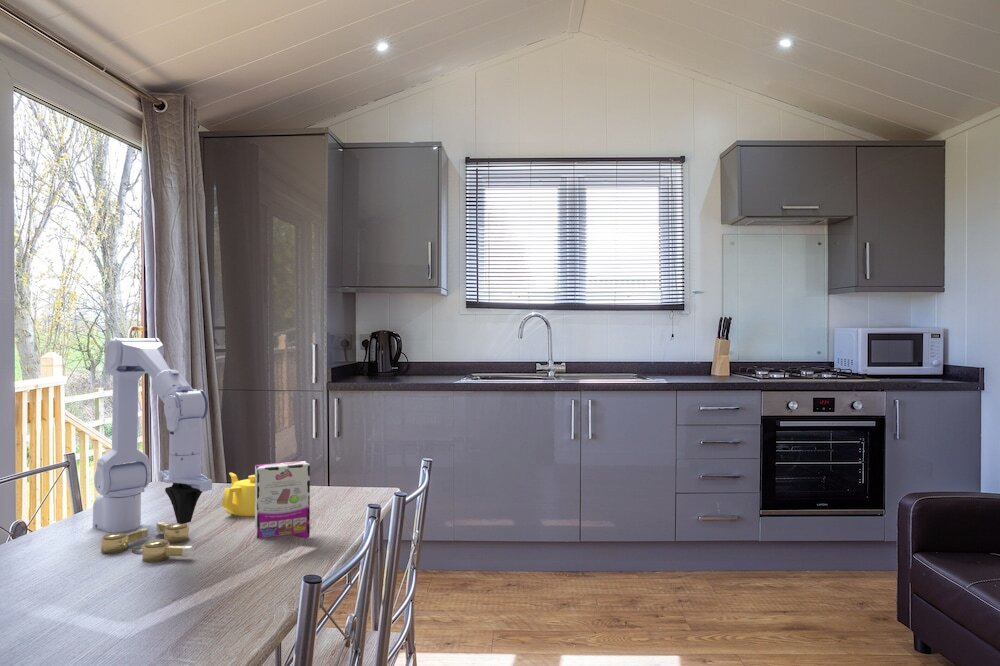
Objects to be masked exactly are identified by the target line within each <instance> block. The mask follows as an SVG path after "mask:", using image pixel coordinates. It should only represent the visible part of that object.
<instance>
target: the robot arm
mask: <svg viewBox="0 0 1000 666" xmlns="http://www.w3.org/2000/svg"><path fill="white" fill-rule="evenodd" d="M164 348H165V347H164V343H162V341H161V339H159V337H152V338H141V337H139V338H135V337H133V338H131V337H129V338H127V337H123V338H122V337H121V338H120V337H112V338H111V339H110V340H109V341H108V343H107V345H106V346H105V355H104V356H105V361H104V363H105V364H104V367H105V374H107V375H109V376H111V377H112V414H111V415H112V420H111V421H112V422H111V423H112V424H111V427H112V428H111V435H112V436H111V449H110V450H109V451H108V452H107V453H105V454H103V456H101V457H99V459H98V460H97V462H96V470H95V473H94V476H93V477H94V479H93V480H94V487H95V491H96V492H97V493H98V495H97V497H96V498H95V500H94V501H93V505H92V528H93V529H96V530H102V531H104V532H107V533H108V532H109V533H113V532H127V531H132V530H135V529H138V528H140V527H141V524H142V520H141V519H142V493H144V492H145V489H146V488H147V487H149V484H150V483H151V479H152V471H151V467H150V459H149V456H148V455H147V454H146V453H144V452H143V451H141V450H139V449H138V435H139V434H138V428H139V425H138V424H139V422H138V420H139V418H138V417H139V415H138V414H139V380H140V379H141V378H142V376H143V375H145V374H148V375H149V376H150V378H152V389H153V391H154V392H155V393H156V395H157V396H158V398H160V400H161V401H162V402H163V404H164V405H163V412H164V413H163V414H164V416H165V420H166V429H167V431H169V437H168V438H169V441H168V443H169V444H168V446H169V447H168V448H169V449H168V469H165V470H160V471H159V472H158V481H159V482H163V483H166V484H171V483H172V485H171V486H169V487H168V486H167V487H165V488H164V490H165V491H164V492H165V493H166V495H167V496H168V498H169V500H170V502H171V504H172V508H173V512H174V517H175V520H176V523H179V524H185V523H187V524H188V523H192V522H191V521H192V519H193V516H194V512H195V508H196V505H197V502H198V500H199V498H200V497H201V495H202V493H203V492H206V491H212V490H213V479H211V478H208V477H207V476H206V475H204V474H203V473H202V450H203V449H202V444H203V443H202V442H203V441H202V440H203V438H202V437H203V420H204V419H205V418H206V417H207V415H208V413H209V405H210V403H209V399H208V396H207V394H206V392H205V391H204V390H203V389H197V388H193V387H192V386H191V385H190V384H189V382H188V381H187V380H186V379H185V377H184V376H183V375H182V374H181V372H180V371H179V370H177V369H170V366H169V365H168V363H167V361H166V360H165V358H164V355H165V350H164Z"/></svg>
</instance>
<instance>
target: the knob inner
mask: <svg viewBox="0 0 1000 666" xmlns="http://www.w3.org/2000/svg"><path fill="white" fill-rule="evenodd" d="M148 534H149V529H148V528H143V527H142V528H140V529H137V530H135V531H132V532H127V531H122V532H109V533H108V532H107V533H106V534H104V535H103V536H102V537H101V539H100V553H101V554H104V555H112V554H118V553H122V552H125V551H127V550H128V549H129V543H132V542H136V541H139V540H142V539H147V538H148V536H149V535H148Z"/></svg>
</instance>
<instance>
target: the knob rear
mask: <svg viewBox="0 0 1000 666" xmlns="http://www.w3.org/2000/svg"><path fill="white" fill-rule="evenodd" d="M189 531H190V525H189V524H188V523H185V524H179V523H177V522H173V523H167V522H166V521H161V522H160V521H159V522H156V532H158V533H163V534H164V535H163V537H164V538H163V539H165V540H168V542H169V543H170V544H179V543H182V542H183V543H184V542H186V541H188V540H189V537H190V532H189Z"/></svg>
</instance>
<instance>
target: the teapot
mask: <svg viewBox="0 0 1000 666" xmlns="http://www.w3.org/2000/svg"><path fill="white" fill-rule="evenodd" d="M228 474H229V476H230V477H231V478H230V479H231V487H225V488H224V492H223V495H222V496H223V497H222V502H221V507H223V508H225V511H226V512H227V513H228V514H230V515H233V516H239V517H255V474H251V475H248V478H247V479H242V480H241V479H240V480H239V478H238V475H237V474H235V473H233V472H229V473H228Z"/></svg>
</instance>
